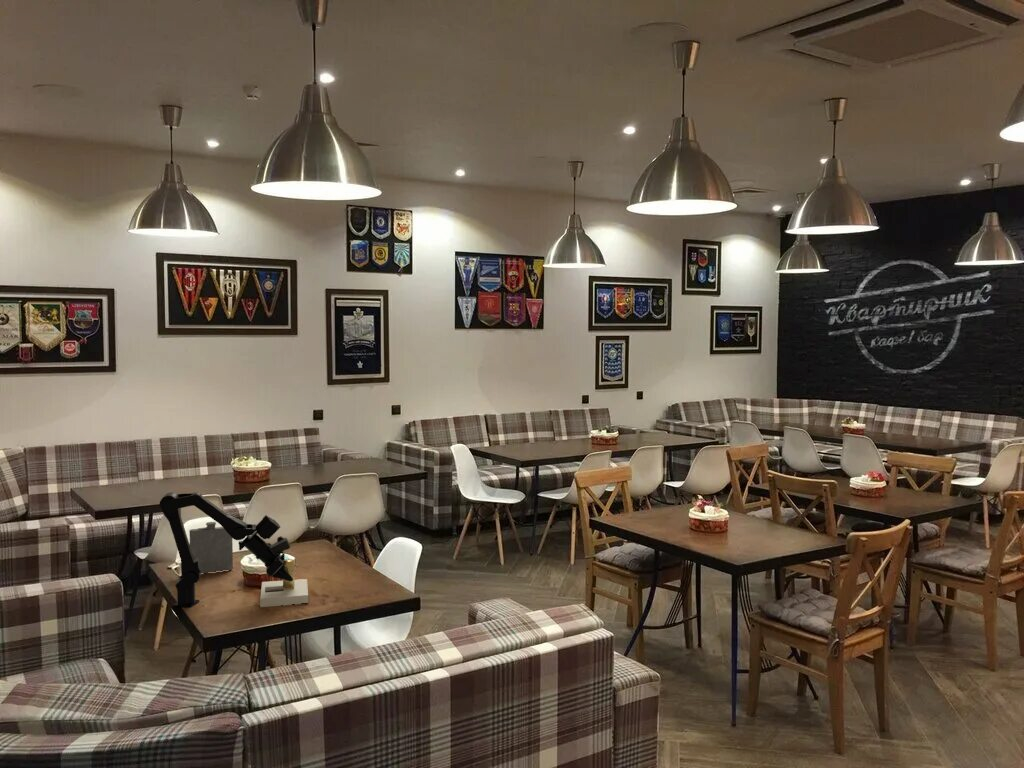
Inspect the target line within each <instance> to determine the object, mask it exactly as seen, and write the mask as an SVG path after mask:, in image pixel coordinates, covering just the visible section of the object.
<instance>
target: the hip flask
mask: <svg viewBox="0 0 1024 768" xmlns="http://www.w3.org/2000/svg"><path fill="white" fill-rule="evenodd" d="M205 525H206V527H198V528H191V529H189V534H188V535H189V544H190V548H191V551H192V554H193V556H194V557H195V558H198V557H200V563H201V565H202V566H203V568H202V572H201V573H208V572H216V571H223V570H232V569H233V570H234V559H233V558H234V557H233V556H234V554H233V553H234V550H233V538H232V537H231V536H230V535H229V534H228V533H227V532H226V531H225V529H224V528H223V527H222V526H219V527H218V526H217V527H216V525H217V522H216V521H208V522H206V523H205ZM233 570H232V571H233Z"/></svg>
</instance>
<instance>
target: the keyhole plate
mask: <svg viewBox="0 0 1024 768" xmlns="http://www.w3.org/2000/svg"><path fill="white" fill-rule="evenodd" d="M260 588H261V590H260V597H259V600H260V602H259V604H260V605H259V606H260V608H267V607H269V608H270V607H279V606H280V607H282V606H281V605H283V606H293V605H292V604H295V605H302V604H301V603H308V604H309V591H308V578H299V579H294V587H292V589H289V590H285V588H283V580H272V581H271V580H270V581H261V587H260Z"/></svg>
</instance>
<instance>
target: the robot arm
mask: <svg viewBox="0 0 1024 768" xmlns="http://www.w3.org/2000/svg"><path fill="white" fill-rule="evenodd" d="M192 506H194V507H195V508H197V509H199V511H201V512H203V513H204V514H205V515H207V517H209V518H211V519H212V520H213V521H214V522H216V523H218V524H219V525H220V527H223V528H224V529H225V531H226V532H227V533H228V534H229V535H230V536H231V537H232V540H234V541H238V546H239V547H238V551H242V550H243V549H244V548H246V549H247V550H248V551H249V552H250V553H251V554H253V555H254V556H255V559H256V560H259V561H261V563H263V564H264V567H265V568H266V570H265V571H266V574H267V575H268V577H272V578H276V579H281V580H283V579H284V580H287V581H293V578H292V577H291V575H290V574H289V573H288V572H287V570H286V569H285V568H284V562H283V560H286V559H285V555H286V554H285V552H284V551H287V550H289V549H290V548H291V544H290V542H289V540H288V538H287V537H284V536H278V537H277V538H276V542H274V543H273V544H271V542H266V541H265V540H267V539H268V540H269V539H271V538H272V537H273V536H274V535H275V533H277V532H278V531H279V529H280V528H281V526H280V524H279V522H277V520H275V519H274V518H271V517H270V516H269V515H267V514H265V515H264V516H263V517H262V519H261V520H260V521H259V522H258V523H257V524H256V523H246V522H245V521H243V520H241V519H240V518H237V517H234V516H232V515H230V514H228V513H227V512H225V511H224V510H222V508H220V507H218V506H217V505H216V504H214V503H213V502H212V501H210V500H208V499H207V498H206V497H205V496H203V495H202V493H200V492H198V491H197V492H191V493H188V492H187V493H175V492H172V491H171V492H168V493H166V494H165V495H163V497H162V498H161V499H160V501H159V508H160V510H161V512H162V513H163V516H164V517H165V518H166V520H167V521H168V523H169V526H170V529H171V532H172V533H171V534H172V535H173V539H174V541H175V545H176V548H177V552H178V555H179V557H180V570H181V571H180V573H181V575H180V576H179V577H178V579H177V582H175V588H176V596H177V597H176V599H177V602H175V603H174V604H173V607H181V608H182V607H184V608H186V607H187V608H191V607H192V606H194V605H196V604H198V603H199V602H200V599H196V583H197V582H198V581H199V580H200V577H201V572H202V568H203V566H202V565H201V563H200V557H198V558H195V557H194V556H193V554H192V551H191V548H190V540H189V538H188V535H187V532H186V529H185V525H184V522H183V518H182V509H183V508H186V507H187V508H188V507H192Z"/></svg>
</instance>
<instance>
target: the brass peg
mask: <svg viewBox="0 0 1024 768" xmlns="http://www.w3.org/2000/svg"><path fill="white" fill-rule="evenodd" d="M283 562H284V568H285V569H286V570H287V572H288V573H289V574H290V575H291V577H292V578H293V581H287V580H284V579H282V581H283V588H285V590H289V589H292V587H294V580H295V559H293V558H287V559H285V560H283Z"/></svg>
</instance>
